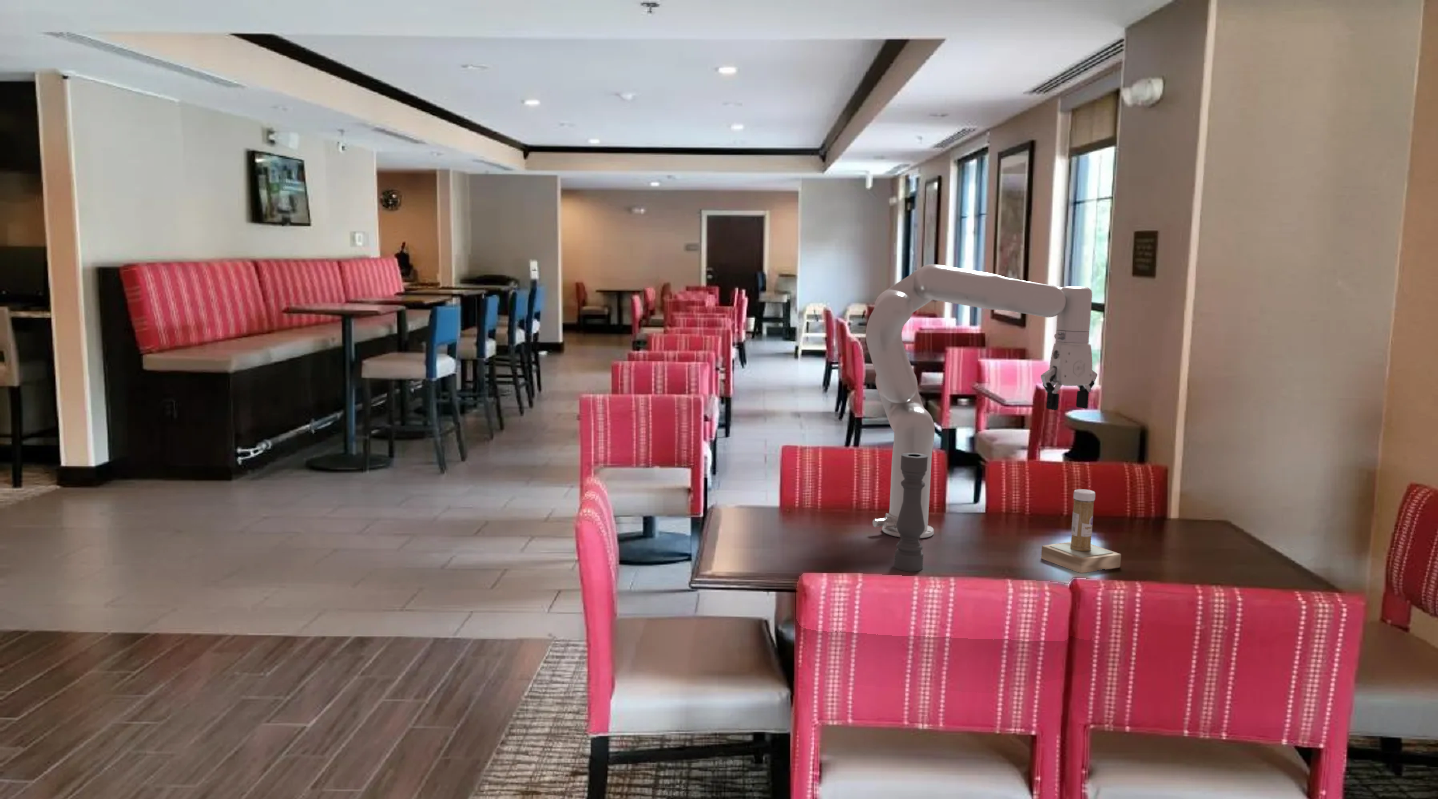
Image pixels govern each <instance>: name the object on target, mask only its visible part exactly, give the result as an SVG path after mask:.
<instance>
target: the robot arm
mask: <svg viewBox="0 0 1438 799" xmlns="http://www.w3.org/2000/svg"><path fill="white" fill-rule="evenodd" d="M932 301H938V302H943V303H950V304H955V305H962V306H967V307H972V308H979V309H984V310H995V311H1008V312H1013V313H1019V314H1026V315H1032V316H1036V317H1043V318H1053V317H1056V316H1057V317H1056V331H1055V334H1054V339H1055V343H1054V344H1053V347H1052V351H1051V356H1050V361H1049V369H1048V370H1046V371H1045V372H1044V373H1042V374H1041V375H1040V379H1041V383H1042V386H1043V387H1044V390H1045V393H1046V406H1045V407H1046V409H1047V410H1050V411H1052V410H1053V411H1058V409H1059V402H1060V401H1059V399H1060V393H1058V392H1059V390H1060V389H1061V387H1062V386H1064V387H1077V388H1078V390H1077V392H1076V399H1075V400H1076V402H1075V407H1076V408H1081V409H1085V410H1086V409H1088V408H1089V396H1090V393H1091V391H1092V388H1093V387H1094V385H1095V382H1096V380H1097V377H1098V373H1097V372H1095V370H1093V353H1092V352H1093V351H1092V346H1091V344H1090V343H1089V342H1090V341H1089V340H1090V329H1091V314H1092V302H1093V292H1092V290H1091V288H1089V287H1086V286H1072V285H1070V286H1069V285H1068V286H1067V285H1066V286H1062V287H1061V286H1055V285H1053V284H1052V285H1051V284H1045V283H1038V282H1032V281H1026V280H1022V279H1021V280H1020V279H1015V278H1010V277H1005V276H1002V275H999V274H995V273H990V272H985V271H978V270H973V269H967V268H961V267H955V266H948V265H943V264H936V263H935V264H925V265H924V266H923V265H922V266H921V267H920V268H918V269H917V270H915V271H914V272H912V273H910V274H909V275H908V276H906V277H904V278H903V279H901V280H899V281H898V282H897V283H895V284H893V285H892V286H889V288H887V289H886V290H884V291H882V292H881V293H879V295H878V296H877V298H876V299H875V302H874V305H873V306H874V308H873V310H872V312H871V314H870V315H869V317H868V321H867V323H866V328H865V342H866V346H867V350H868V354H869V356H870V359H871V363H872V365H873V369H874V371H875V374H876V376H875V386H876V387H875V388H876V390H877V393H878V396H879V398H880V401H881V404H882V407H883V409H884V412H885V415H886V418H887V420H888V423H889V425H890V428H891V430H892V431H893V444H892V445H893V446H892V453H891V454H892V456H891V474H890V494H889V512H888V513H887V512H886V513H885V516H884V517H882V518H874V519H873V520H872V526H873V527H874V528H880V527H881V528H882V529H881V530H882V532H883V533H884V534H886V535H889V536H893V537H896V538H897V537H898V538H900V534H899V532H898V530H897V526H896V525H897V520H898V517H899V513H900V510H901V506H902V503H903V492H904V488H903V486H901V481H903V480H904V477H903V474H902V470H901V454H903V453H919V454H924V455H927V456H928V460H927V471H926V472H925V475H924V477H923V479H922V481H923V482H924V483H925V487H923V488H922V491H921V507H922V513H923V518H924V524H925V529H924V532H923V533H922V534H921V535H920V539H925V538H930V537H932V536H934V534H935V529H934V528H933V527H932V526H931V525H928V524H929V511H930V510H929V507H930V494H931V493H930V491H931V477H932V476H931V473H932V472H931V470H932V455H933V450H934V449H933V448H934V442H935V432H936V431H935V429H936V427H935V422H934V420H933V417H932V415H931V414H930V412H929V411H928V410H927V409H925V407H924V405H923V402H922V399H921V395H920V393H919V390H918V380H917V375H916V374H915V372H914V369H913V367H912V364H911V362H910V360H909V357H908V354H907V351H906V348H905V344H904V342H903V341H904V340H903V336H902V332H903V329H904V326H905V325H906V324H907V323H908V321H909V320H910V319H911V318H912V316H913V314H914V313H915V312H916V311H918V310H919V309H921V308H922V307H924V306H926V305H927V304H928V303H930V302H932Z"/></svg>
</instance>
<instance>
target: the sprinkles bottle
mask: <svg viewBox="0 0 1438 799" xmlns="http://www.w3.org/2000/svg"><path fill="white" fill-rule="evenodd" d="M1095 500H1096V492H1095V490H1090V489H1082V488H1079V489H1078V488H1077V489H1074V491H1073V509H1072V510H1073V511H1072V519H1071V521H1072V522H1071V539H1070V542H1071V545H1070V547H1071V548H1072V549H1074V550H1077V551H1089V550H1091V544H1092V543H1091V542H1092V535H1093V521H1094V503H1095Z"/></svg>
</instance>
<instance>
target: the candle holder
mask: <svg viewBox="0 0 1438 799" xmlns="http://www.w3.org/2000/svg"><path fill="white" fill-rule="evenodd" d="M927 460H928V456H927V455H924V454H919V453H903V454H901V470H902V474H903V477H904V480H903V481H901V486H903V488H904V492H903V503H902V506H901V510H900V513H899V517H898V520H897V525H896V526H897V530H898V532H899V534H900V537H899V538H900V539H899V540H898V542H896V549H895V551H894V564H893V565H894V568H895V569H897V570H899V571H902V572H903V571H905V572H920V571H921V570H923V569H924V566H923V565H924V552H923V551H922V550H923V549H924V548H923V545H922V544H921V542H920V539H921V538H920V535H921V534H922V533H923V532H924V529H925V524H924V518H923V513H922V507H921V491H922V488H923V487H925V483H924V482H923V481H922V479H923V477H924V475H925V472H926V471H927Z"/></svg>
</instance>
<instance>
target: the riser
mask: <svg viewBox="0 0 1438 799" xmlns="http://www.w3.org/2000/svg"><path fill="white" fill-rule="evenodd" d="M1070 545H1071V541H1067V542H1061V543H1059V542H1058V543H1052V544H1044V545H1041V552H1040V553H1041V554H1040V555H1041V556H1040V559H1041V560H1044V561H1047V562H1049V563H1052V564H1055V565H1058V566H1061V567H1063V568H1066V569H1068V570H1071V571H1074V572H1077V573H1079V574H1084V573H1091V572H1096V571H1097V570H1099V571H1103V570H1102V569H1105V570H1112V569H1118V568H1121V560H1122V554H1121V553H1118V552H1116V551H1112V550H1110V549H1107V548H1105V547H1100V546H1098V545H1094V544H1092V543H1091V550H1089V551H1077V550H1074V549H1072V548H1071V547H1070ZM1100 569H1101V570H1100ZM1097 572H1098V571H1097Z"/></svg>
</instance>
